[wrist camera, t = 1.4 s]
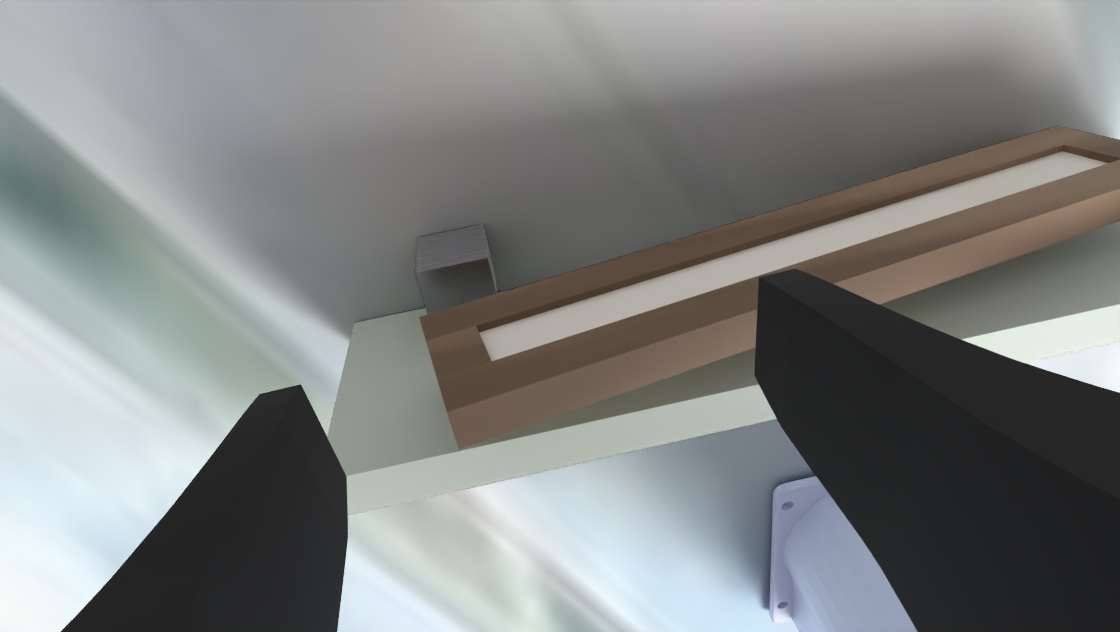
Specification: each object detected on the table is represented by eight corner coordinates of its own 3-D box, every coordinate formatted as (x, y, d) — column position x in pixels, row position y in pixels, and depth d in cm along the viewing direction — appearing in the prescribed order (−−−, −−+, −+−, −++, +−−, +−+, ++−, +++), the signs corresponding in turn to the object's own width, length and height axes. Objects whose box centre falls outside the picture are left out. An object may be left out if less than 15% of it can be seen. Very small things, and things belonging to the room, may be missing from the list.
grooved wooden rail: (1048, 157, 20) (1192, 196, 17) (429, 350, 16) (459, 449, 13) (1056, 125, 20) (1207, 159, 16) (418, 317, 16) (446, 412, 12)
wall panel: (1108, 194, 22) (1350, 289, 16) (365, 353, 21) (334, 518, 15) (1142, 88, 20) (1429, 151, 14) (328, 255, 19) (275, 400, 13)
